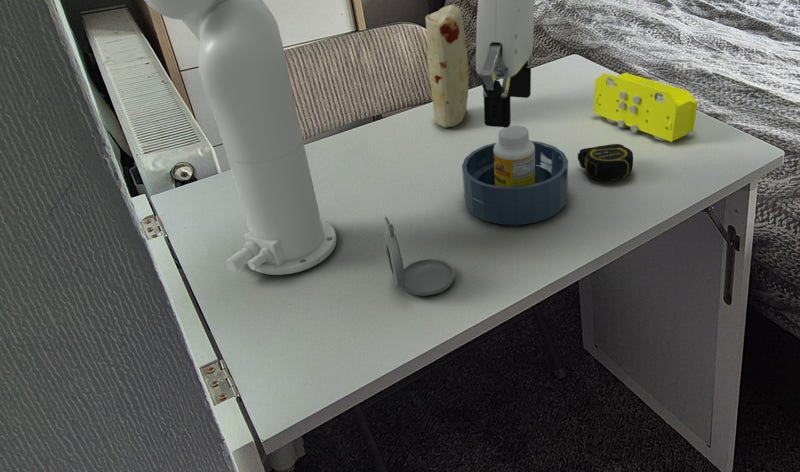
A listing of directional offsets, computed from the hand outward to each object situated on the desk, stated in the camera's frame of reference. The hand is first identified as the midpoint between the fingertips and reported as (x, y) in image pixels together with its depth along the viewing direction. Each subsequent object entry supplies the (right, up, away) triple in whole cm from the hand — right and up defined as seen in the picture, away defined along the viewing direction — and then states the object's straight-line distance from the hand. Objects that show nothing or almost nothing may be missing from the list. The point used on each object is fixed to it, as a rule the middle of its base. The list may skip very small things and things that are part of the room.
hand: (508, 110), depth 85 cm
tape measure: (+16, -7, +11) cm, 21 cm away
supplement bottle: (+2, -11, +7) cm, 14 cm away
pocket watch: (-12, -22, -5) cm, 26 cm away
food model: (-5, +4, +33) cm, 34 cm away
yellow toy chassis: (+25, +1, +22) cm, 34 cm away
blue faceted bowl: (+2, -11, +8) cm, 14 cm away
